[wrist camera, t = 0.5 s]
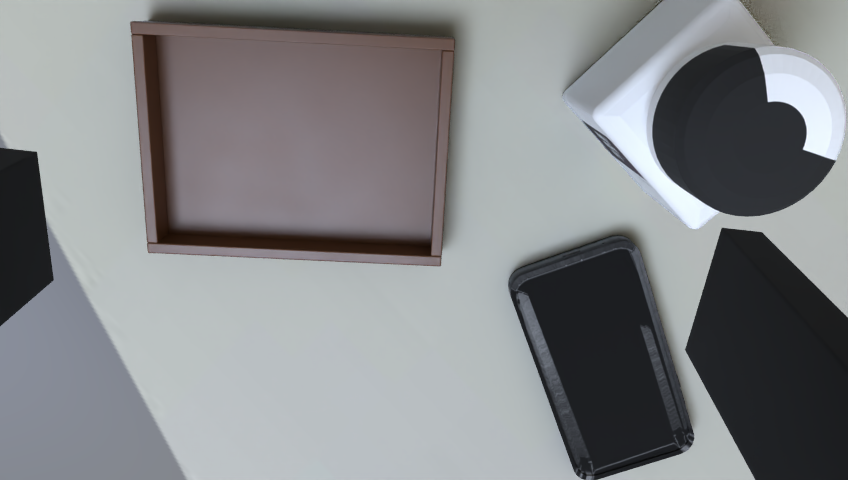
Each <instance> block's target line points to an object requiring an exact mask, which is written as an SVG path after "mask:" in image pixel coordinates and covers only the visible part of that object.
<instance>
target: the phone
mask: <svg viewBox="0 0 848 480" xmlns="http://www.w3.org/2000/svg"><path fill="white" fill-rule="evenodd" d="M508 287H509V292H510V295H511V298H512V301H513V304H514V307H515V309H516V312H517V315H518V318H519V320H520V323H521V326H522V329H523V331H524V334H525V337H526V340H527V342H528V345H529V348H530V351H531V353H532V356H533V359H534V362H535V364H536V367H537V370H538V373H539V375H540V378H541V381H542V384H543V387H544V389H545V392H546V395H547V398H548V400H549V403H550V406H551V409H552V411H553V414H554V417H555V420H556V422H557V425H558V428H559V431H560V433H561V436H562V439H563V442H564V444H565V447H566V450H567V453H568V455H569V458H570V461H571V464H572V467H573V469H574V472H575V473H576V475H577V476H578V477H580V478H581V479H584V480H597V479H601V478H604V477H607V476H610V475H614V474H617V473H620V472H623V471H627V470H630V469H633V468H636V467H640V466H643V465H646V464H649V463H653V462H656V461H659V460H662V459H666V458H669V457H672V456H675V455H679V454H681V453H683V452H685V451H687V450H688V449H689V448H690V447H691V445H692V444H693V441H694V433H693V430H692V426H691V423H690V419H689V416H688V412H687V409H686V406H685V401H684V398H683V394H682V391H681V389H680V387H681V386H680V383H679V380H678V376H677V374H676V372H675V368H674V365H673V362H672V358H671V355H670V351H669V348H668V345H667V341H666V338H665V334H664V331H663V327H662V324H661V321H660V317H659V314H658V310H657V307H656V304H655V300H654V297H653V293H652V290H651V287H650V283H649V280H648V276H647V273H646V270H645V266H644V263H643V259H642V256H641V253H640V251H639V249H638V248H637V247H636V246H635V244H634V243H633V242H632V241H631V240H630V239H628V238H626V237H624V236H618V235H616V236H611V237H608V238H605V239H602V240H599V241H596V242H594V243H591V244H588V245H585V246H582V247H579V248H576V249H573V250H570V251H568V252H565V253H562V254H559V255H556V256H553V257H550V258H547V259H544V260H542V261H539V262H536V263H533V264H530V265H527V266H524V267H521V268H520V269H518V270H516V271H515V272H514V273H513V274H512V275H511V277H510V279H509V283H508Z"/></svg>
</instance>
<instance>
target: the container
mask: <svg viewBox="0 0 848 480" xmlns="http://www.w3.org/2000/svg"><path fill="white" fill-rule="evenodd" d="M563 100H564V102H565V103H566V104H567V105H568V106H569V108H570V109H571V110H572V111H573V112H574V113H575V114H576V115H577V117H578V118H579V119H580V120H581V121H582V122H583V123H584V124H585V126H586V127H587V128H588V129H589V130H590V131H591V132H592V133H593V135H594V136H595V137H596V138H597V139H598V140H599V141H600V143H601V144H602V145H603V146H604V147H605V148H606V149H607V150H608V152H609V153H610V154H611V155H612V156H613V157H614V158H615V159H616V161H617V162H618V163H619V164H620V165H621V166H622V167H623V168H624V170H625V171H626V172H627V173H628V174H629V175H630V176H631V177H632V179H633V180H634V181H635V182H636V183H637V184H638V185H639V186H640V188H641V189H642V190H643V191H644V192H645V193H647V194H648V195H649V196H650V197H652V198H653V199H654V200H655V201H657V202H658V203H659V204H660V205H662V206H663V207H664V208H665V209H667V210H668V211H669V212H670V213H672V214H673V215H674V216H675V217H676V218H678V219H679V220H680V221H681V222H683V223H684V224H685V225H686V226H688V227H689V228H691V229H698V228H700V227H702V226H703V225H704V224H705V223H707V222H708V221H709V220H710V219H711V218H713V217H714V216H715V215H716V214H718V213H719V212H723V213H726V214H730V215H735V216H760V215H765V214H770V213H773V212H776V211H779V210H782V209H784V208H787V207H789V206H791V205H793V204H795V203H796V202H798V201H799V200H801V199H802V198H804V197H805V196H806V195H808V194H809V193H810V192H811V191H813V190H814V189H815V188H816V187H817V186H818V185H819V184H820V183H821V182H822V180H823V179H824V178H825V177H826V175H827V174H828V173H829V171H830V170H831V168H832V166H833V165H834V163H835V161H836V159H837V157H838V155H839V153H840V150H841V147H842V144H843V141H844V137H845V130H846V107H845V101H844V98H843V94H842V91H841V89H840V87H839V85H838V83H837V81H836V79H835V78H834V76H833V75H832V74H831V72H830V71H829V70H828V69H827V68H826V67H825V66H824V65H823V64H822V63H821V62H819V61H818V60H817V59H815V58H814V57H812V56H810V55H808V54H806V53H804V52H802V51H799V50H796V49H793V48H787V47H781V46H775V45H774V44H773V43H772V41H771V40H770V39H769V37H768V36H767V35H766V34H765V32H764V31H763V30H762V28H761V27H760V26H759V25H758V23H757V22H756V21H755V19H754V18H753V17H752V16H751V14H750V13H749V12H748V10H747V9H746V8H745V7H744V5H743V4H742V3H741V1H740V0H663V1H662V2H661V3H660V4H659V5H658V6H657V7H656V8H654V9H653V10H652V11H651V12H650V13H649V14H648V15H647V16H646V17H645V18H644V19H643V20H641V21H640V22H639V23H638V24H637V25H636V26H635V27H634V28H633V29H632V30H631V31H630V32H628V33H627V34H626V35H625V36H624V37H623V38H622V39H621V40H620V41H619V42H618V43H616V44H615V45H614V46H613V47H612V48H611V49H610V50H609V51H608V52H607V53H606V54H605V55H603V56H602V57H601V58H600V59H599V60H598V61H597V62H596V63H595V64H594V65H593V66H592V67H590V68H589V69H588V70H587V71H586V72H585V73H584V74H583V75H582V76H581V77H580V78H579V79H577V80H576V81H575V82H574V83H573V84H572V85H571V86H570V87H569V88H568V89H567V90H566V91H565V92H564V93H563Z"/></svg>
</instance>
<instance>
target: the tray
mask: <svg viewBox="0 0 848 480" xmlns="http://www.w3.org/2000/svg"><path fill="white" fill-rule="evenodd" d="M130 24H131V34H132V35H131V36H132V49H133V62H134V75H135V88H136V102H137V115H138V128H139V141H140V154H141V167H142V181H143V194H144V207H145V220H146V233H147V242H148V243H147V247H148V253H165V254H187V255H208V256H230V257H251V258H273V259H294V260H316V261H337V262H358V263H380V264H401V265H423V266H441V255H442V241H443V225H444V209H445V193H446V177H447V161H448V145H449V129H450V113H451V97H452V81H453V65H454V49H455V39H454V38H453V37H442V36H424V35H405V34H386V33H367V32H348V31H329V30H310V29H292V28H273V27H254V26H235V25H216V24H197V23H178V22H160V21H132V22H130Z"/></svg>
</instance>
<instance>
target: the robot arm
mask: <svg viewBox="0 0 848 480" xmlns="http://www.w3.org/2000/svg"><path fill="white" fill-rule="evenodd" d="M51 281H53V272H52V264H51V256H50V249H49V242H48V234H47V226H46V218H45V210H44V203H43V195H42V187H41V180H40V172H39V164H38V157H37V152H32V151H23V150H14V149H4V148H0V326H1V325H2V324H3V323H4V322H5V321H7V320H8V319H9V318H10V317H11V316H13V315H14V314H15V313H16V312H17V311H18V310H19V309H21V308H22V307H23V306H24V305H25V304H26V303H28V302H29V301H30V300H31V299H32V298H33V297H35V296H36V295H37V294H38V293H39V292H40V291H41V290H43V289H44V288H45V287H46V286H47V285H48V284H50V283H51ZM685 350H686V352H687V354H688V356H689V358H690V360H691V362H692V363H693V365H694V367H695V369H696V371H697V373H698V374H699V376H700V378H701V380H702V382H703V384H704V386H705V387H706V389H707V391H708V393H709V395H710V397H711V399H712V400H713V402H714V404H715V406H716V408H717V410H718V411H719V413H720V415H721V417H722V419H723V421H724V423H725V424H726V426H727V428H728V430H729V432H730V434H731V435H732V437H733V439H734V441H735V443H736V445H737V447H738V448H739V450H740V452H741V454H742V456H743V458H744V459H745V461H746V463H747V465H748V467H749V469H750V471H751V472H752V474H753V476H754V478H755V480H848V317H847V316H846V315H845V314H844V313H843V312H841V311H840V310H839V309H838V308H837V307H836V306H835V305H834V304H833V303H832V302H831V301H830V300H829V299H828V298H827V297H826V296H825V295H824V294H823V293H822V292H821V291H820V290H819V289H818V288H817V287H816V286H815V285H814V284H813V283H812V282H811V281H810V280H809V279H808V278H807V277H806V276H805V275H804V274H803V273H802V272H801V271H800V270H799V269H798V268H797V267H796V266H795V265H794V264H793V263H792V262H791V261H790V260H789V259H788V258H787V257H786V256H785V255H784V254H783V253H782V252H781V251H780V250H779V249H778V248H777V247H776V246H775V245H774V244H773V243H772V242H771V241H770V240H769V239H768V238H767V237H766V236H765V235H764V234H763V233H762V232H755V231H746V230H737V229H728V228H722V229H721V232H720V236H719V239H718V242H717V246H716V249H715V252H714V256H713V259H712V262H711V266H710V269H709V272H708V276H707V279H706V282H705V286H704V289H703V292H702V296H701V299H700V302H699V306H698V309H697V312H696V316H695V319H694V322H693V326H692V329H691V332H690V336H689V339H688V342H687V346H686V349H685Z"/></svg>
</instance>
